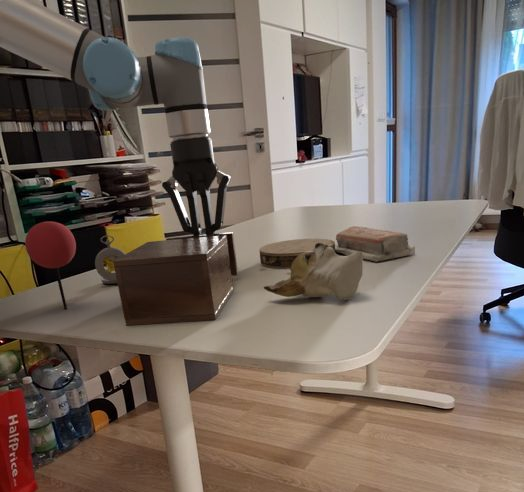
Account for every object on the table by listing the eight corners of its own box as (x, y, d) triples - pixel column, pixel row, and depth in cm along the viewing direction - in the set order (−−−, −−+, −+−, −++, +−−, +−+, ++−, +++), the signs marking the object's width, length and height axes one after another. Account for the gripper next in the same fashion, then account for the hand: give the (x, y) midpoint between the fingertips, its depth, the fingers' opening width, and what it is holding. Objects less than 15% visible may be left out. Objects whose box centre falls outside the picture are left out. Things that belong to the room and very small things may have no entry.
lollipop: (69, 315, 87) (47, 224, 81) (33, 315, 90) (10, 226, 84) (97, 302, 93) (79, 217, 88) (63, 302, 96) (43, 219, 91)
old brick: (417, 230, 102) (375, 238, 98) (417, 254, 104) (376, 263, 100) (363, 223, 117) (325, 229, 114) (363, 244, 119) (326, 252, 115)
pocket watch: (124, 276, 113) (115, 229, 110) (144, 280, 107) (135, 230, 104) (89, 284, 108) (78, 236, 105) (108, 289, 102) (97, 238, 99)
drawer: (181, 271, 106) (175, 232, 104) (242, 267, 105) (237, 227, 102) (150, 299, 88) (142, 252, 85) (224, 294, 86) (217, 246, 83)
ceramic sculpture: (344, 247, 71) (255, 252, 80) (350, 308, 74) (263, 306, 82) (375, 234, 79) (291, 239, 88) (379, 289, 82) (297, 289, 90)
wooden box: (157, 296, 93) (147, 241, 89) (233, 291, 91) (226, 235, 87) (125, 325, 78) (112, 261, 75) (215, 320, 76) (206, 253, 73)
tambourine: (339, 263, 103) (339, 248, 102) (259, 271, 104) (258, 256, 103) (331, 249, 118) (330, 236, 117) (261, 256, 119) (260, 243, 117)
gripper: (229, 134, 96) (244, 260, 105) (161, 142, 98) (181, 265, 107) (221, 133, 89) (238, 268, 98) (149, 142, 91) (171, 273, 100)
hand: (208, 266), depth 102 cm, fingers closed
